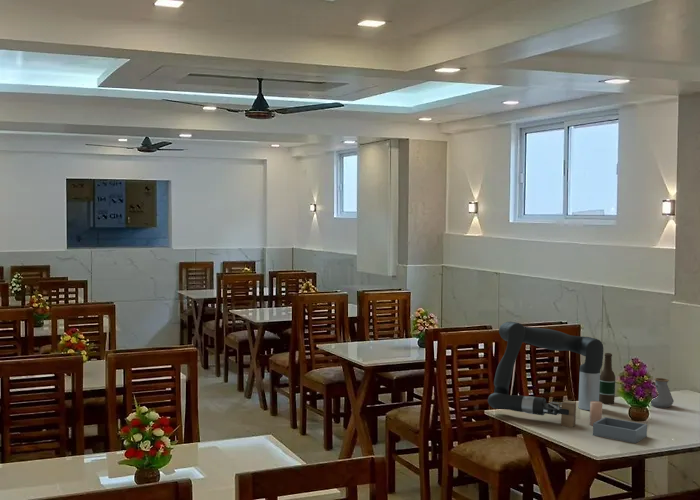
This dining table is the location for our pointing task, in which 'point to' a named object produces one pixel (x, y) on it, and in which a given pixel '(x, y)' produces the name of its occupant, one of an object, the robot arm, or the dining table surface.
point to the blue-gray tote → (620, 430)
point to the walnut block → (571, 418)
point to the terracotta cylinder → (595, 411)
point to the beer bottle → (607, 382)
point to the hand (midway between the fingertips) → (571, 410)
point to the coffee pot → (662, 394)
